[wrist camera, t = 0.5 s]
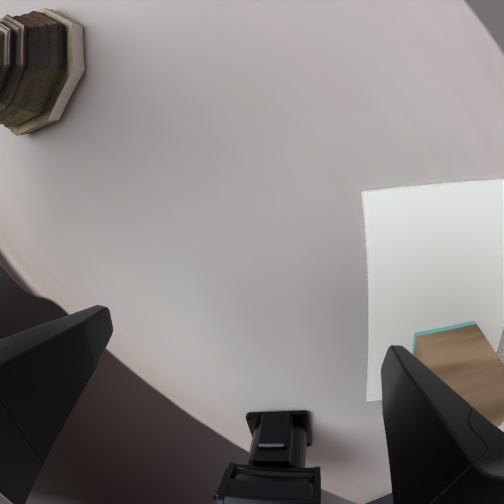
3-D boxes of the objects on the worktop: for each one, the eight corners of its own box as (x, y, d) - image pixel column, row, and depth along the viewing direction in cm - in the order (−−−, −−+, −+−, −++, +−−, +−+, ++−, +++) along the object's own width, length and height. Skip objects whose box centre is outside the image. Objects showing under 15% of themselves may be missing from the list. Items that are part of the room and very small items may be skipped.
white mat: (487, 371, 24) (489, 374, 24) (365, 398, 27) (366, 401, 27) (519, 178, 17) (523, 179, 17) (361, 191, 20) (362, 192, 20)
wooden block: (466, 354, 23) (500, 425, 15) (409, 367, 24) (433, 446, 16) (474, 320, 22) (518, 390, 14) (414, 332, 23) (446, 414, 15)
